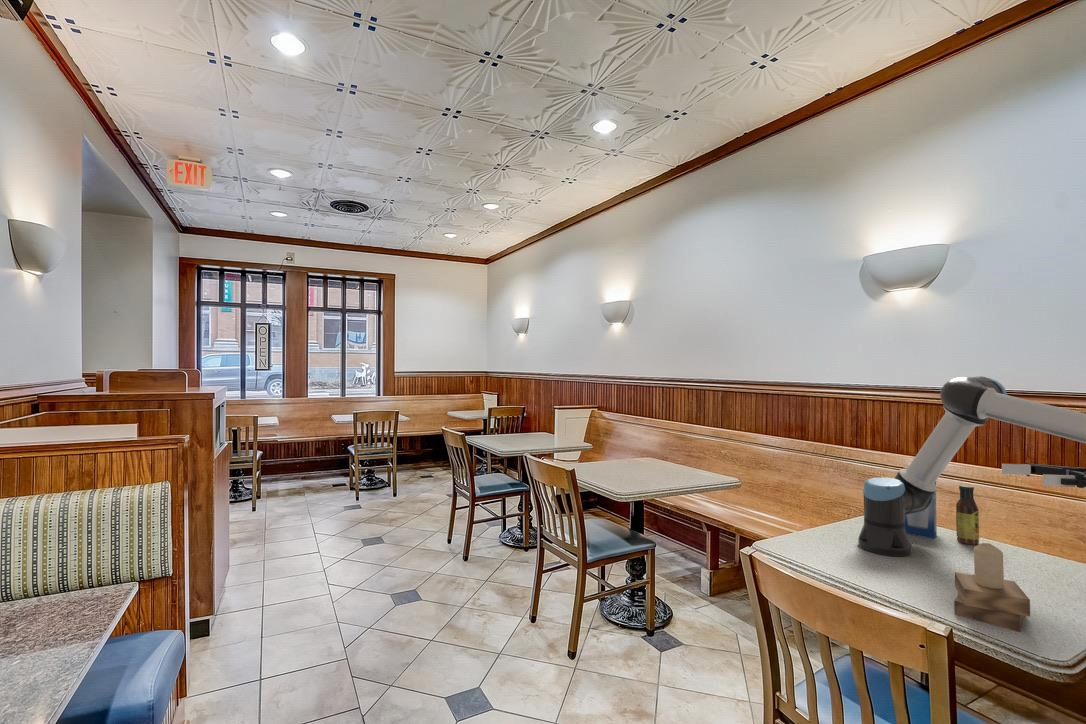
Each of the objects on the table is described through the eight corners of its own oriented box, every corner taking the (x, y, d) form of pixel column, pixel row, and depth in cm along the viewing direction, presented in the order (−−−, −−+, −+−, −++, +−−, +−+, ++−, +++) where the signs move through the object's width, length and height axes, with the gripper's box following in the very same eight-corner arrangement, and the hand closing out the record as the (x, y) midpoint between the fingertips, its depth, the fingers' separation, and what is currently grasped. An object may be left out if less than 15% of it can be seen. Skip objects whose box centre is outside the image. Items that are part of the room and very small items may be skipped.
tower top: (964, 605, 125) (964, 588, 125) (954, 587, 135) (954, 572, 135) (1030, 616, 119) (1029, 599, 119) (1014, 597, 129) (1014, 581, 129)
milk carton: (936, 534, 189) (936, 480, 190) (934, 538, 185) (933, 483, 185) (904, 528, 196) (903, 476, 197) (901, 532, 192) (900, 479, 192)
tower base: (954, 616, 127) (954, 600, 127) (962, 601, 135) (962, 586, 136) (1019, 635, 118) (1019, 617, 119) (1024, 618, 127) (1024, 602, 127)
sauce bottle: (981, 546, 176) (980, 489, 177) (958, 543, 180) (957, 486, 180) (977, 541, 182) (976, 485, 182) (955, 538, 185) (954, 483, 186)
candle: (1007, 591, 123) (1006, 549, 124) (978, 587, 126) (977, 546, 126) (999, 582, 128) (998, 542, 129) (972, 578, 131) (970, 539, 131)
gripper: (1168, 506, 117) (1063, 501, 120) (1072, 481, 142) (987, 477, 145) (1168, 473, 117) (1064, 469, 120) (1072, 454, 142) (988, 451, 145)
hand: (1022, 474), depth 133 cm, fingers open, 13 cm apart
